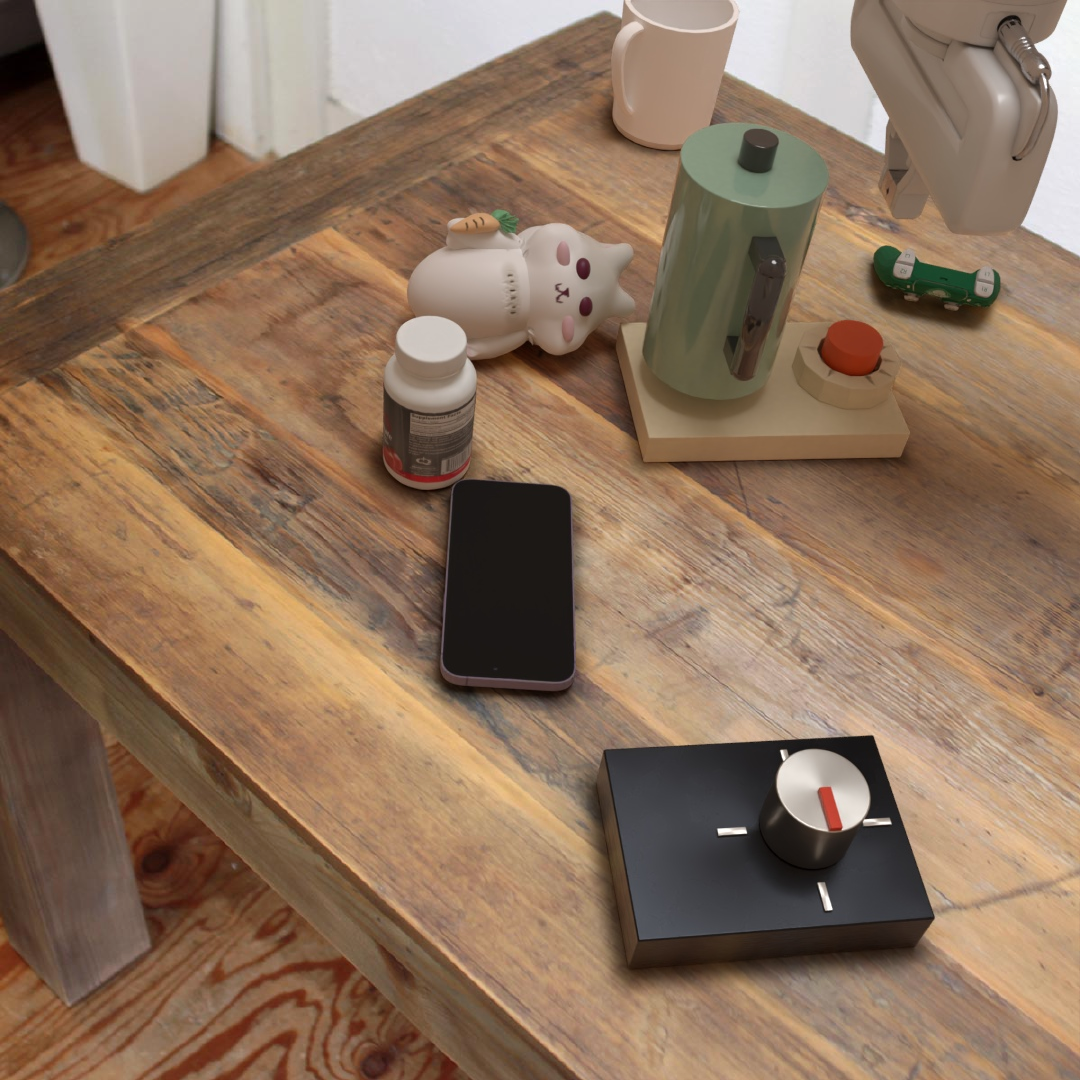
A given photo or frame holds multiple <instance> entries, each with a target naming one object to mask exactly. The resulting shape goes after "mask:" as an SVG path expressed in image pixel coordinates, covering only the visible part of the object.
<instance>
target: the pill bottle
mask: <svg viewBox="0 0 1080 1080" xmlns="http://www.w3.org/2000/svg"><path fill="white" fill-rule="evenodd" d="M394 343H395V344H394V345H395V346H394V353H393V354H392V356H391V357H390V358H389V359H388V361H387V363H386V365H385V367H384V370H383V380H382V381H383V382H382V388H383V389H382V390H383V391H382V392H383V394H382V395H383V397H382V400H383V402H382V411H383V412H382V459H383V463H384V467H385V468H386V470H387V472H388V473H389V474H390V475H391V476H392V477H393V478H394V479H395V480H396V481H398V482H399V483H400V484H403V485H405V486H407V487H409V488H413V489H417V490H421V491H422V490H428V491H429V490H437V489H438V490H439V489H443V488H446V487H449V486H451V485H454V484H455V483H457V482H458V481H460V480H461V478H463V477H464V476H465V474H466V473H467V471H468V470H469V467H470V464H471V461H472V460H471V459H472V452H473V451H472V449H473V436H474V425H475V414H476V413H475V412H476V403H477V388H478V376H477V371H476V368H475V366H474V364H473V362H472V360H469V359H468V358H467V338H466V335H465V332H464V331H463V329H462V328H461V327H460V326H459V325H458V324H456V323H455V322H453V321H451V320H449V319H446V318H443V317H438V316H422V317H413V318H411V319H409V320H408V321H405V322H404V323H403V324H401V326H400V327H399V328H398V329H397V332H396V336H395V342H394Z"/></svg>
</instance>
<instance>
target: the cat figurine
mask: <svg viewBox="0 0 1080 1080" xmlns="http://www.w3.org/2000/svg"><path fill="white" fill-rule="evenodd" d="M519 220H520V219H519V218H518V217H517V215H515V214H514V215H511V213H510V212H508V211H507V210H503V209H499V208H498V209H494V210H493V211H492V212H491V213H490V214H489V213H487V212H476V213H473V214H471V215H469V216H467V217H456V218H453V219H450V220H449V221H448V222H447V224H446V230H447V235H446V238H445V244H446V246H443V247H441V248H439V249H437V250H435V251H433V252H432V253H430V254H429V255H427V256H425V258H424V259H422V260H421V261H420V262H419V263H418V264H417V266H416V267H415V268H414V270H413V271H412V273H411V275H410V277H409V279H408V283H407V286H406V297H407V303H408V305H409V308H410V310H411V312H412V313H413V315H414V316H415V318H417V317H422V316H438V317H443V318H446V319H449V320H451V321H453V322H455V323H456V324H458V325H459V326H460V327H461V328H462V329H463V331H464V332H465V335H466V338H467V358H468V359H469V360H470V361H481V360H491V359H495V358H497V357H500V356H503V355H506V354H508V353H510V352H513V351H514V350H516V349H518V348H519V347H521V346H523V345H524V344H525V343H526V342H528V343H531V345H532V346H534V345H535V346H539V347H540V348H541V349H542V350H543V351H545V352H546V353H548V354H550V355H553V356H562V355H565V354H569V353H571V352H574V351H576V350H578V349H579V348H580V347H581V346H582V345H583V344H584V343H585V341H586V340H587V338H588V336H589V335H590V334H592V332H594V331H595V330H596V329H598V328H599V326H600V325H601V324H603V323H604V322H605V321H606V320H608V319H610V318H618V319H619V318H628V317H631V316H632V315H633V314H634V313H635V311H636V308H637V304H636V301H635V300H634V298H633V297H632V296H631V295H630V294H628V293H627V292H626V291H625V290H623V288H622V287H621V286H620V284H619V280H620V278H621V275H622V274H623V273H624V271H625V270H626V269H627V268H628V267H629V265H631V263H632V261H633V259H634V255H635V253H634V249H633V247H632V245H630V244H629V243H627V242H621V243H608V242H607V243H605V242H600V241H598V240H596V239H595V238H594V237H592V236H590V235H588V234H587V233H583V232H582V231H579V230H576V229H575V228H574V227H572V226H571V225H569V224H567V223H562V222H550V223H546V224H544V225H536V226H530V227H527V228H525V229H524V230H522V231H521V232H519V233H518V234H516V233H517V226H518V223H519Z"/></svg>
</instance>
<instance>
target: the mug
mask: <svg viewBox="0 0 1080 1080" xmlns="http://www.w3.org/2000/svg"><path fill="white" fill-rule="evenodd" d="M740 12H741V11H740V8H739V5H738V2H736V0H623V5H622V13H621V24H620V30H619V31H618V33H617V34H616V36H615V39H614V42H613V44H612V48H611V49H612V50H611V56H610V57H611V58H610V71H611V72H610V73H611V74H610V76H611V85H612V92H613V103H612V114H611V115H612V116H611V117H612V121H613V124H614V126H615V127H616V129H617V131H618V132H619V133H620V134H621V135H622V136H624V137H625V138H626V139H628V140H630V141H631V142H633V143H636V144H638V145H640V146H643V147H646V148H651V149H655V150H665V151H677V150H681V148H682V146H683V144H684V142H685V141H686V139H687V138H688V137H689V136H690V135H692V134H693V133H695V132H696V131H698V130H700V129H702V128H705V127H708V126H711V122H712V118H713V114H714V110H715V106H716V102H717V99H718V95H719V91H720V87H721V84H722V80H723V76H724V73H725V69H726V65H727V61H728V58H729V54H730V50H731V47H732V44H733V43H732V42H733V39H734V36H735V31H736V29H737V23H738V20H739V17H740Z"/></svg>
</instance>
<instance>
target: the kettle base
mask: <svg viewBox="0 0 1080 1080" xmlns="http://www.w3.org/2000/svg"><path fill="white" fill-rule="evenodd" d="M835 322H836V321H787V323H786V327H785V330H784V333H783V337H782V340H781V343H780V347H779V350H778V353H777V357H776V360H775V363H774V367H773V370H772V373H771V376H770V378H769V379H768V381H767V382H766V383H765V384H764V385H763V386H762V387H761V388H760V389H758V390H757V391H755V392H753V393H752V394H749V395H747V396H744V397H740V398H736V399H729V400H711V399H703V398H699V397H694V396H691V395H688V394H685V393H682V392H680V391H678V390H676V389H674V388H672V387H670V386H668V385H667V384H665V383H664V382H662V381H661V380H660V379H659V378H658V377H657V376H656V375H655V374H654V373H653V372H652V371H651V370H650V369H649V367H648V365H647V364H646V362H645V359H644V357H643V353H642V341H643V336H644V331H645V326H646V322H620V323H619V327H618V332H617V337H616V343H615V351H616V355H617V359H618V363H619V367H620V371H621V376H622V380H623V383H624V387H625V391H626V395H627V399H628V404H629V408H630V412H631V417H632V420H633V421H632V422H633V424H634V429H635V433H636V437H637V441H638V444H639V449H640V453H641V457H642V461H643V463H678V462H680V463H681V462H725V461H726V462H729V461H731V462H732V461H776V460H777V461H778V460H779V461H780V460H783V461H784V460H824V459H825V460H828V459H829V460H831V459H878V458H881V459H882V458H883V459H884V458H885V459H886V458H901V456H902V454H903V452H904V449H905V447H906V445H907V443H908V440H909V438H910V435H911V431H910V429H909V426H908V425H907V422H906V419H905V417H904V415H903V412H902V410H901V407H900V406H899V404H898V401H897V399H896V396H895V395H894V392H893V390H892V388H893V387H894V385H895V381H896V379H897V376H898V373H899V370H900V367H901V365H902V362H901V360H900V357H899V355H898V353H897V351H896V348H895V346H894V345H893V344H892V343H890V342H889V341H888V340H886V338H884V337H883V336H881V337H882V339H883V348H882V350H881V353H880V356H879V358H878V361H877V364H876V367H875V368H874V370H873V371H872V372H871V373H869V374H867V375H864V376H848V375H845V374H842V373H840V372H837V371H834V370H832V369H831V368H830V367H828V366H827V365H826V364H825V362H824V361H823V359H822V356H821V350H822V347H823V344H824V341H825V338H826V335H827V332H828V329H829V327H830V326H831V325H832V324H834V323H835Z"/></svg>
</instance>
